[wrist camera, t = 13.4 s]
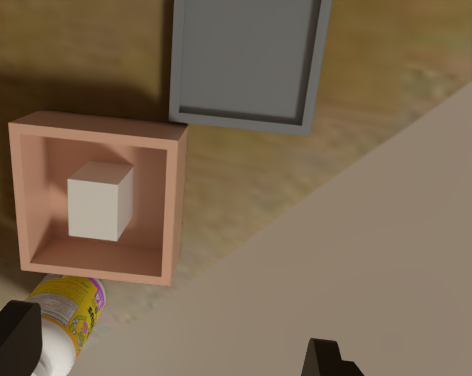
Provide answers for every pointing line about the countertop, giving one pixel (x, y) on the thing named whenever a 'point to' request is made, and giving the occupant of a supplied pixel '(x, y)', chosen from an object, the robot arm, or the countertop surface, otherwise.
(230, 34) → the tray
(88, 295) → the supplement bottle
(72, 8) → the countertop surface
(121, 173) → the cream rectangular block
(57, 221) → the bin
